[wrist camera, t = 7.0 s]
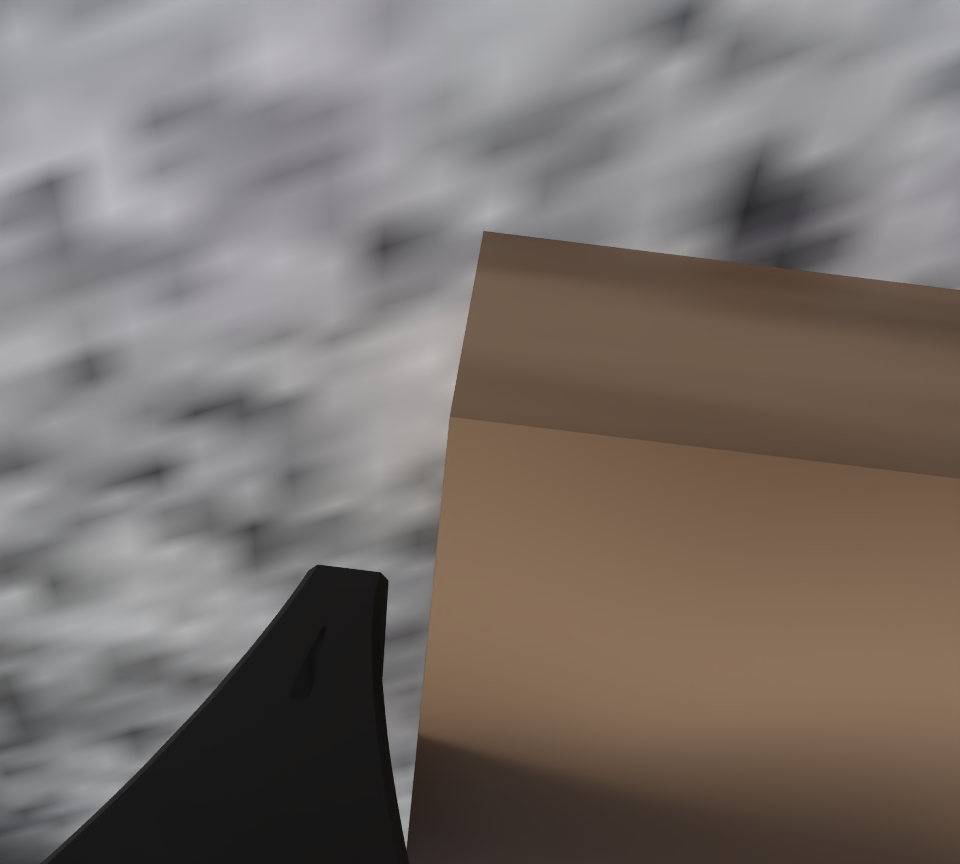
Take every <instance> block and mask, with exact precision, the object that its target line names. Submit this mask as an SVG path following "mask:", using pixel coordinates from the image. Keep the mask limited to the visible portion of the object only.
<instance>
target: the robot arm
mask: <svg viewBox="0 0 960 864" xmlns="http://www.w3.org/2000/svg"><path fill="white" fill-rule="evenodd" d="M387 596H388V580H387V579H386V578H385V576H384V575H383V574H382V573H381V572H373V571H365V570H357V569H349V568H341V567H332V566H324V565H316V566H315V567H313V568H312V569H310V570H309V571H308V572H307V574H306V575H305V577H304V578H303V580H302V581H301V583H300V584H299V586H298V587H297V588H296V590H295V591H294V592H293V594H292V595H291V597H290V598H289V599H288V601H287V602H286V603H285V605H284V606H283V607H282V609H281V610H280V611H279V613H278V614H277V615H276V617H275V618H274V619H273V620H272V622H271V623H270V624H269V626H268V627H267V628H266V629H265V631H264V632H263V633H262V634H261V636H260V637H259V638H258V639H257V641H256V642H255V643H254V644H253V646H252V647H251V648H250V649H249V650H248V652H247V653H246V654H245V655H244V656H243V657H242V659H241V660H240V661H239V662H238V663H237V664H236V666H235V667H234V668H233V669H232V670H231V671H230V673H229V674H228V675H227V676H226V677H225V678H224V680H223V681H222V682H221V683H220V684H219V685H218V687H217V688H216V689H215V690H214V691H213V692H212V694H211V695H210V696H209V697H208V698H207V699H206V700H205V701H204V703H203V704H202V705H201V706H200V707H199V708H198V709H197V710H196V711H195V712H194V713H193V715H192V716H191V717H190V718H189V719H188V720H187V721H186V722H185V723H184V724H183V725H182V726H181V727H180V728H179V729H178V730H177V731H176V733H175V734H174V735H173V736H172V737H171V738H170V739H169V740H168V741H167V742H166V743H165V744H164V745H163V746H162V747H161V748H160V749H159V750H158V752H157V753H156V754H155V755H154V756H153V757H152V758H151V759H150V760H149V761H148V762H147V763H146V764H145V765H144V766H143V767H142V768H141V769H140V770H139V771H138V772H137V773H136V774H135V775H134V776H133V777H132V778H131V779H130V780H129V781H128V782H127V783H126V784H125V785H124V786H123V787H122V788H121V789H120V790H119V791H118V792H117V793H116V794H115V795H114V796H113V797H112V798H111V799H110V800H109V801H108V802H107V803H106V804H105V805H104V806H103V807H102V808H100V809H99V810H98V811H97V812H96V813H95V814H94V815H93V816H92V817H91V818H90V819H89V820H88V821H87V822H86V823H85V824H83V825H82V826H81V827H80V828H79V829H78V830H77V831H76V832H75V833H74V834H73V835H72V836H71V837H69V838H68V839H67V840H66V841H65V842H64V843H63V844H62V845H61V846H60V847H59V848H58V849H56V850H55V851H54V852H53V853H52V854H51V855H50V856H49V857H48V858H47V859H45V860H44V861H43V862H42V863H41V864H409V861H408V856H407V851H406V846H405V841H404V836H403V831H402V825H401V820H400V814H399V809H398V803H397V797H396V791H395V784H394V778H393V772H392V766H391V759H390V751H389V744H388V736H387V726H386V716H385V706H384V695H383V684H382V676H383V661H384V645H385V628H386V612H387Z"/></svg>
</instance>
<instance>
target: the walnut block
mask: <svg viewBox="0 0 960 864" xmlns="http://www.w3.org/2000/svg"><path fill="white" fill-rule="evenodd" d="M407 856H408V861H409V864H960V290H954V289H946V288H938V287H930V286H922V285H914V284H906V283H898V282H890V281H882V280H873V279H865V278H857V277H849V276H841V275H833V274H825V273H817V272H809V271H801V270H793V269H785V268H777V267H769V266H761V265H752V264H744V263H736V262H728V261H720V260H712V259H704V258H696V257H688V256H680V255H672V254H664V253H656V252H648V251H640V250H632V249H623V248H615V247H607V246H599V245H591V244H583V243H575V242H567V241H559V240H551V239H543V238H535V237H527V236H519V235H511V234H502V233H494V232H486V231H484V232H483V237H482V243H481V248H480V254H479V259H478V265H477V270H476V276H475V281H474V287H473V292H472V298H471V303H470V309H469V314H468V320H467V325H466V331H465V336H464V342H463V347H462V353H461V358H460V364H459V369H458V375H457V380H456V386H455V391H454V397H453V402H452V408H451V413H450V420H449V430H448V440H447V450H446V460H445V470H444V480H443V490H442V500H441V510H440V520H439V530H438V540H437V550H436V560H435V570H434V580H433V590H432V600H431V611H430V621H429V631H428V641H427V651H426V661H425V671H424V681H423V691H422V701H421V711H420V721H419V731H418V741H417V751H416V761H415V771H414V781H413V791H412V801H411V811H410V821H409V831H408V841H407Z"/></svg>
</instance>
